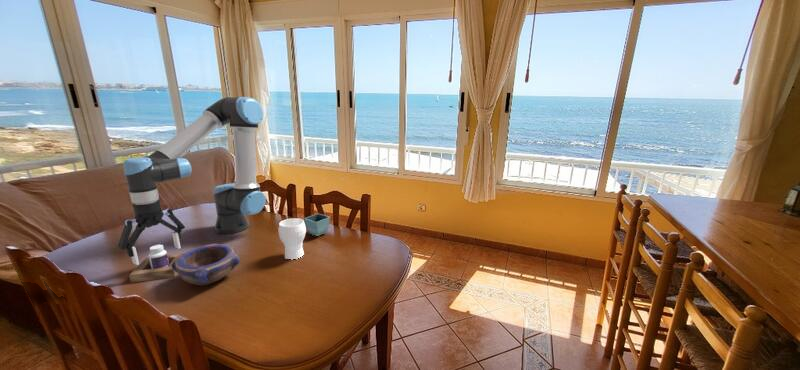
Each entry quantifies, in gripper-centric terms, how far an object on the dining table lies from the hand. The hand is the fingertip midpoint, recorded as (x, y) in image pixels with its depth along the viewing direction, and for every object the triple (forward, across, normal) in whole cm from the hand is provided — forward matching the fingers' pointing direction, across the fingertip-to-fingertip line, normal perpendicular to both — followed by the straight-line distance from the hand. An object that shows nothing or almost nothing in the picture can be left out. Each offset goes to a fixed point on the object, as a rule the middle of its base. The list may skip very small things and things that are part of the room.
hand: (158, 255), depth 111 cm
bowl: (+6, -5, +22) cm, 23 cm away
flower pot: (+7, -53, +30) cm, 61 cm away
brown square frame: (+6, 0, 0) cm, 6 cm away
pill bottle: (+6, 0, 0) cm, 6 cm away
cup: (+7, -32, +36) cm, 48 cm away
